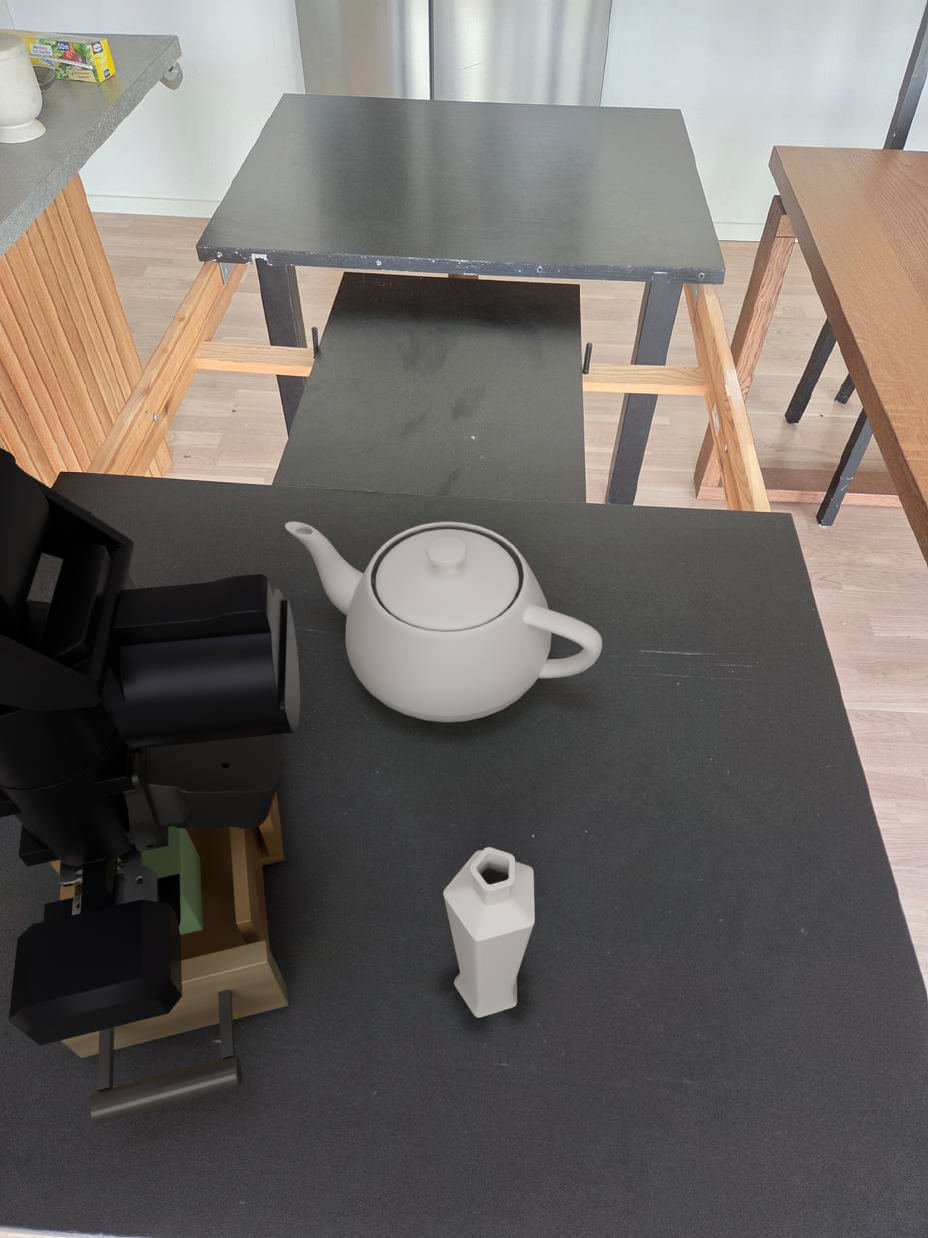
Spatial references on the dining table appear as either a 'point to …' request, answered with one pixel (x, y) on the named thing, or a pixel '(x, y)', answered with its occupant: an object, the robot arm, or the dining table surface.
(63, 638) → the robot arm
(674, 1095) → the dining table surface
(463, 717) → the teapot
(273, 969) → the drawer
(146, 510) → the dining table surface
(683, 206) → the dining table surface
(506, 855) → the white faceted vase
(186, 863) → the block
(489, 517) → the dining table surface
